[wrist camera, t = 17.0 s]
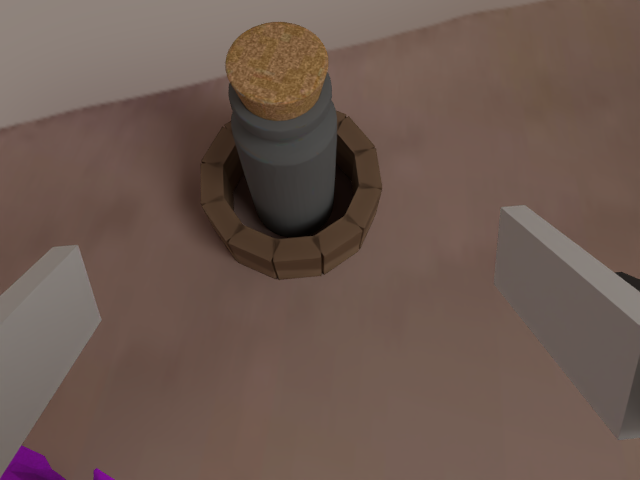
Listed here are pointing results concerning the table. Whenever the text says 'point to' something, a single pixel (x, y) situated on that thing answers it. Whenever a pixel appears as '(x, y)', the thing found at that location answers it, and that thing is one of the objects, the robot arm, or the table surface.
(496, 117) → the table surface
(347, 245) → the bead ring
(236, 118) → the bottle
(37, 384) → the robot arm
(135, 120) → the table surface
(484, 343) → the table surface
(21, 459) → the cloth
